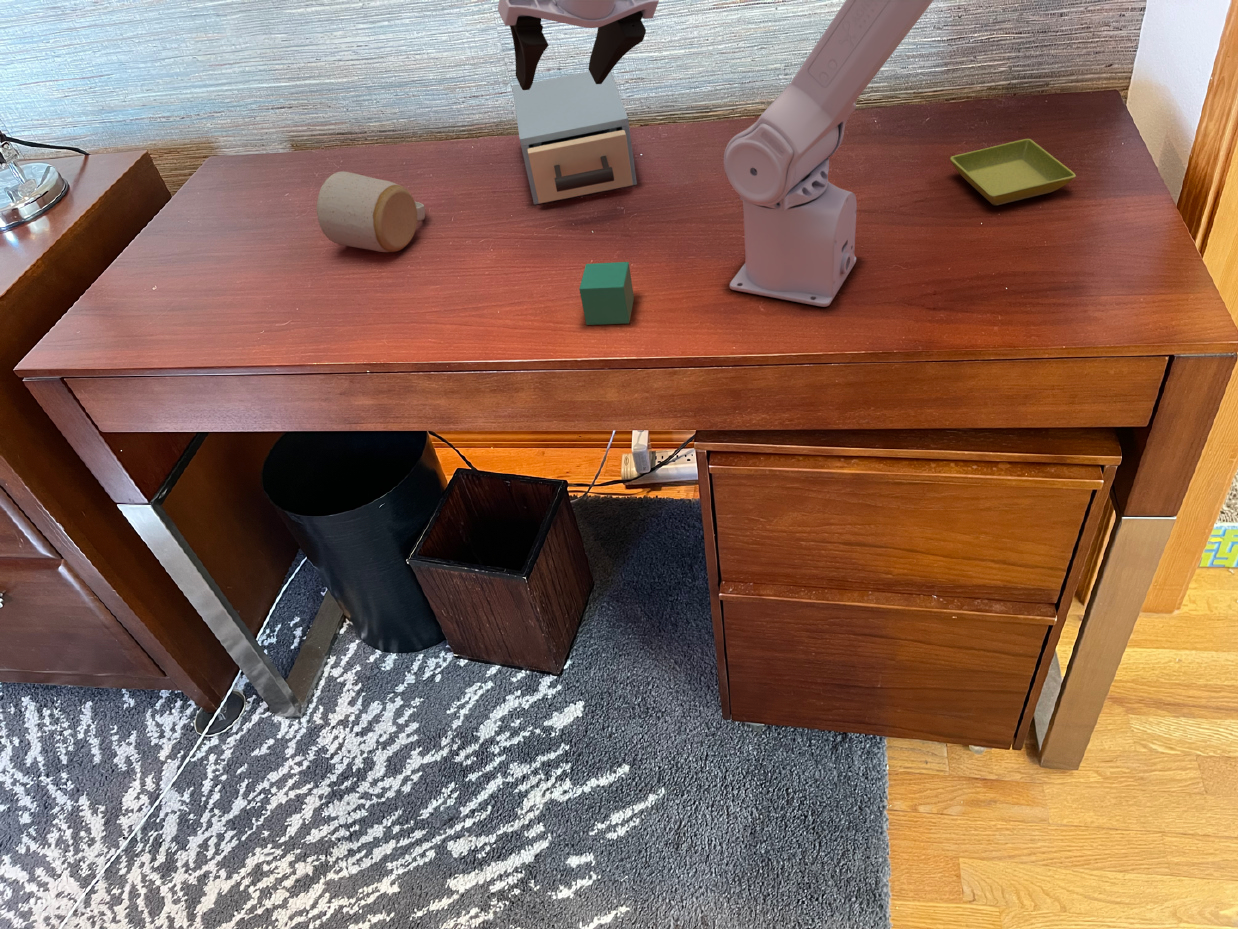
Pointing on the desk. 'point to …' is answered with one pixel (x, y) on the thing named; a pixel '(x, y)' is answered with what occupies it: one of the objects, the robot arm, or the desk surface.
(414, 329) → the desk surface
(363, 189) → the ceramic mug
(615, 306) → the green cube
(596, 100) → the grey cabinet
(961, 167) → the olive green square dish
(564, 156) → the drawer
